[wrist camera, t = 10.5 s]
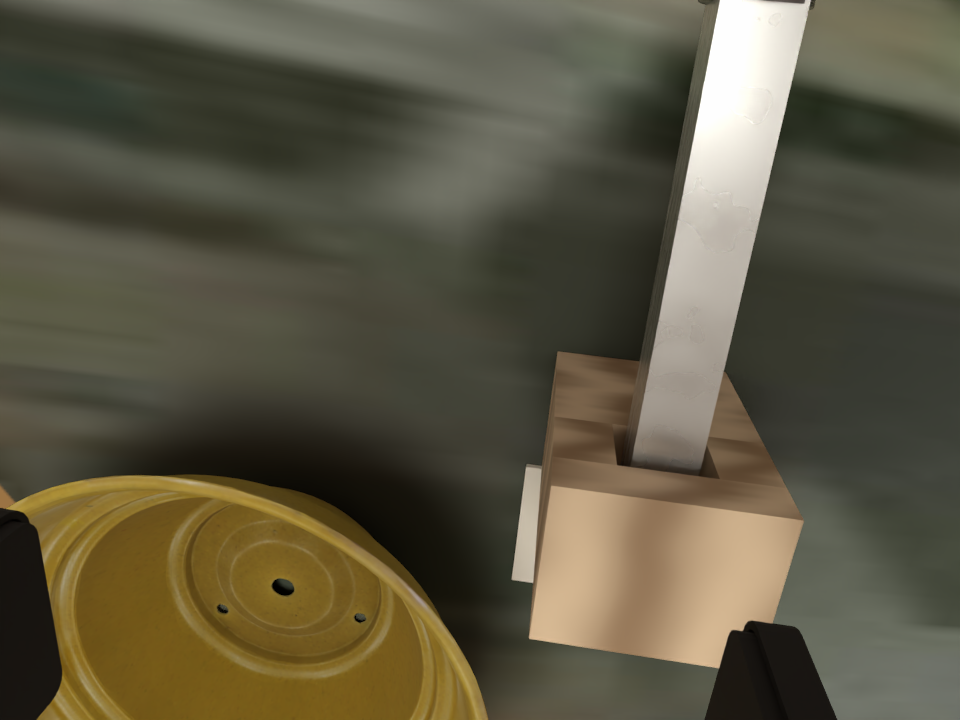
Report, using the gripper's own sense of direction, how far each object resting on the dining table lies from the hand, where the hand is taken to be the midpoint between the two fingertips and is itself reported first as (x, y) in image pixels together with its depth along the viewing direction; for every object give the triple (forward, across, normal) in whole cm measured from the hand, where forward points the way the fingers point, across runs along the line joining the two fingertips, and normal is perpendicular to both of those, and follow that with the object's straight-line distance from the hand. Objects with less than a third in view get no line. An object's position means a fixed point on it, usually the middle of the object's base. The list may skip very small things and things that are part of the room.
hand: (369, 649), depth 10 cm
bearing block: (+33, -8, +12) cm, 36 cm away
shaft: (+25, -8, +1) cm, 26 cm away
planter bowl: (+34, +14, +28) cm, 46 cm away
